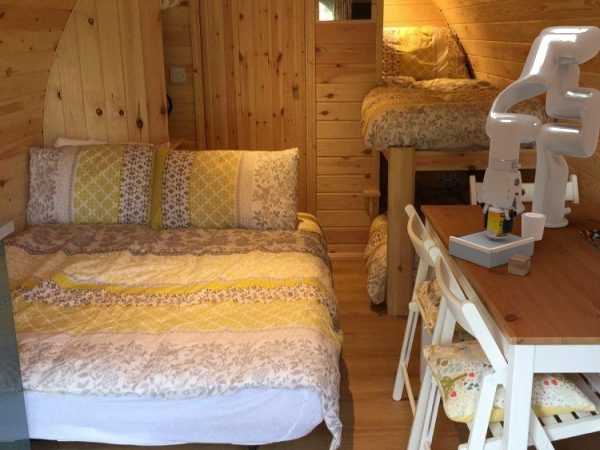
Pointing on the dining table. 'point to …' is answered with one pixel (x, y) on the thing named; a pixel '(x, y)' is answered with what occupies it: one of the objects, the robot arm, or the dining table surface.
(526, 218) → the white cup
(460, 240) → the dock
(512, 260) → the light brown cube
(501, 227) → the supplement bottle
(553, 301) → the dining table surface
